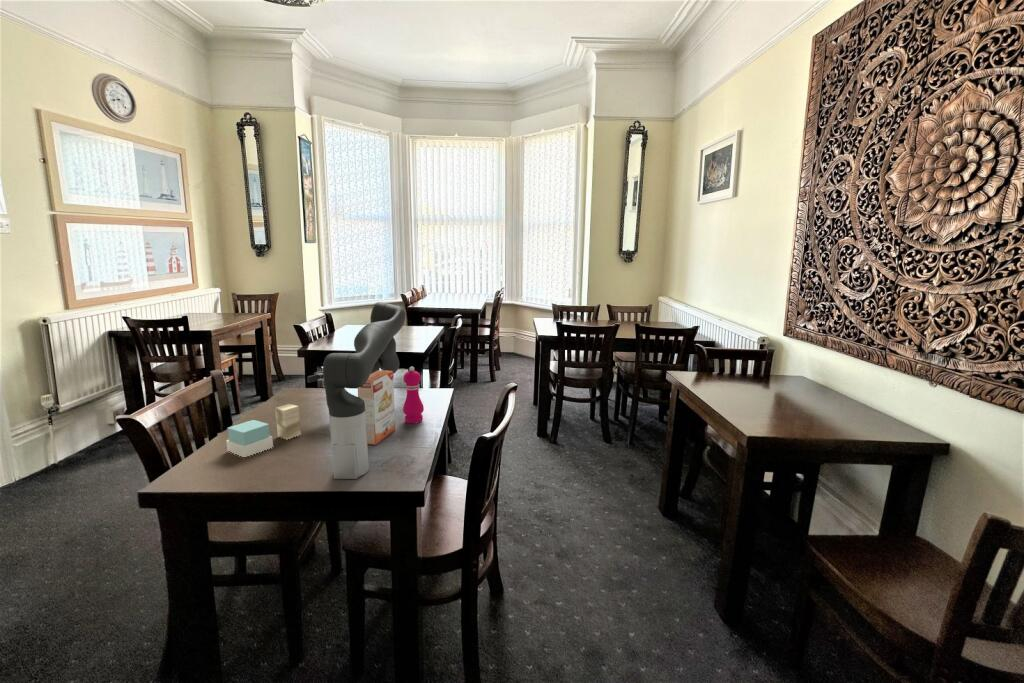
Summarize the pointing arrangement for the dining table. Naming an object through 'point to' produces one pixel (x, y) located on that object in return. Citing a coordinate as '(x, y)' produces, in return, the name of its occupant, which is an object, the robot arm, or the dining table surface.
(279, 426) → the birch post
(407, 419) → the pepper mill
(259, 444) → the tower base
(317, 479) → the dining table surface
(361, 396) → the cracker box
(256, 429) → the tower top
